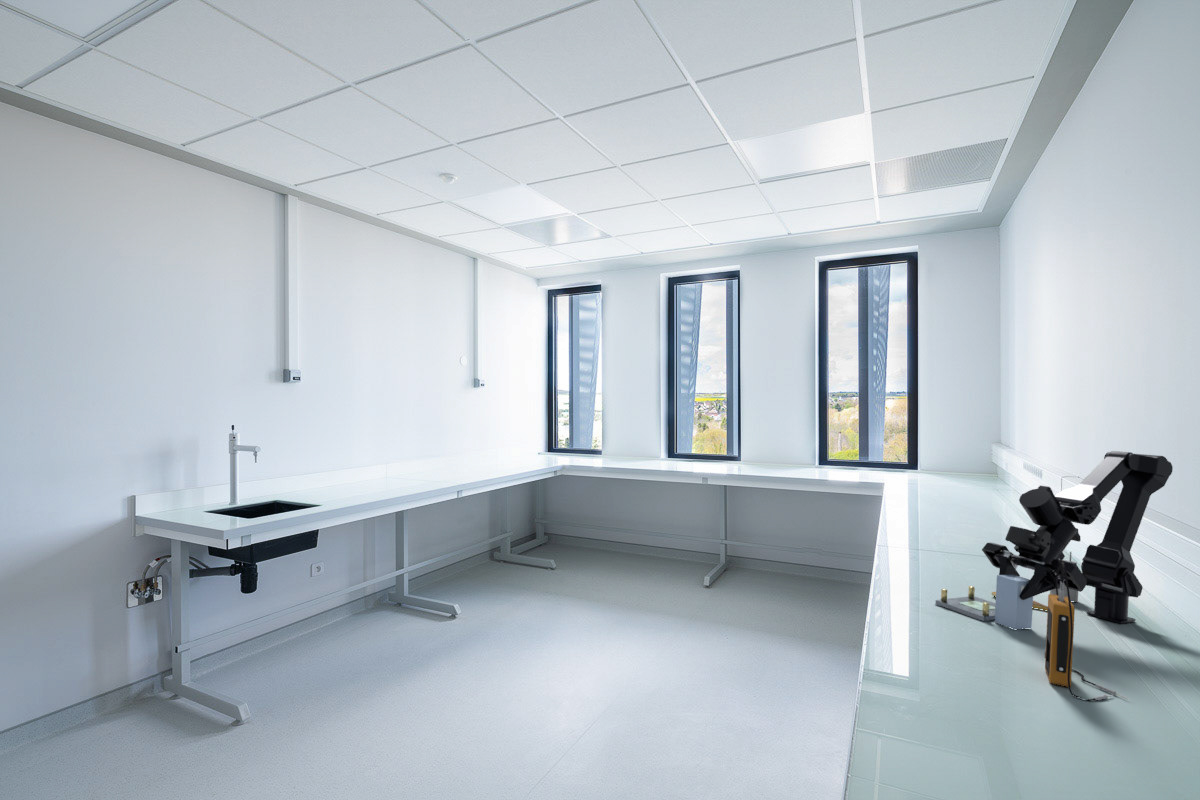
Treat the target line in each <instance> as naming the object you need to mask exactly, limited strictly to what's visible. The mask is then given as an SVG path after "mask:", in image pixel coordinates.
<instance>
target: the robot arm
mask: <svg viewBox="0 0 1200 800" xmlns="http://www.w3.org/2000/svg"><path fill="white" fill-rule="evenodd" d="M1103 457H1104V458H1103V459H1102V461H1101V462H1100V463H1099V464H1097V466H1096V467H1095V468H1093V470H1091V472H1090V473H1088V475H1086V476H1085V478H1083V479H1082V481H1081V482H1079V483H1078V484H1077V485H1076V486H1072V487H1069V488H1066V489H1063V490H1062V491H1060V492H1058V493H1057V494H1056V495H1055V494H1054V492H1053V489H1052V488H1051V487H1050V486H1047V485H1039V486H1038V487H1037V488H1035V489H1034V488H1033V489H1029V490H1028V491H1026V492H1024V493H1022V494H1021V495H1020V497H1019V499H1018V501H1019V504H1020V505H1021V506H1022V508H1023V509H1024V511H1025V512H1026V514H1027V515H1028V517H1029V519H1030V520H1031V521H1032V523H1033V524H1035V525H1037V526H1039V527H1037V530H1035V531H1034V530H1031V529H1027V528H1023V527H1018V526H1015V525H1009V528H1008V531H1007V534H1006V536H1005V541H1007V542H1010V543H1011V544H1013V545H1014V547H1013V549H1014V550H1015V552H1017V553H1018V555H1017V554H1014V553H1013V552H1011V551H1010V550H1009V548H1008V547H1007V545H1003V544H998V543H996V542H986V544H985V545H984V546H983V547H982V549H981V551H982V552H983V553H984V555H985V557H986V558H987V559H988V561H989V562H990V563H991V565H992V567H995V568H997V569H999V572H998V575H1016V576H1019V577H1021V575H1020V574H1019V572H1018V571H1017V568H1018V566H1019V567H1021V568H1025V569H1029V570H1031V571H1032V570H1033V571H1034V572H1033V575H1032V577H1031V578H1030V579H1029V580H1030V581H1029V582H1028V583H1027V585H1026V586H1025V587H1024V589H1023V590H1022V592H1021V594H1020V598H1021V599H1022V600H1025V599H1028V598H1030V597H1033V598H1034V597H1035V596H1038V595H1040V594H1043V593H1046V592H1050V590H1053V589H1056V575H1057V571H1058V567H1059V562H1058V560H1057V556H1061V558H1062V562H1064V565H1065V569H1066V574H1067V580H1068V586H1069V589H1073V590H1076V591H1078V593H1079V592H1083V590H1085V588H1086V587H1092V588H1094V589H1095V590H1094V606H1093V608H1094V609H1093V610H1088V611H1086V613H1085V614H1086V615H1090V616H1093V617H1095V618H1099V619H1102V620H1107V621H1109V622H1113V623H1116V624H1120V625H1123V624H1127V623H1133V622H1136V619H1135V618H1133V617H1131V616H1129V598H1130V597H1133V598H1139V597H1140V596H1141V595H1142V591H1143V585H1142V584H1141V582H1140V581H1139V579H1138V577H1137V576H1136V575H1135V568H1136V565H1135V561H1134V560H1133V557H1132V554H1131V550H1132V547H1133V545H1134V541H1135V539H1136V536H1137V533H1138V530H1139V528H1140V525H1141V523H1142V520H1143V517H1144V514H1145V511H1146V509H1147V506H1148V503H1149V501H1150V499H1151V496H1152V494H1153V495H1154V493H1156V492H1157V491H1159V490H1160V489H1162V488H1164V487H1165V485H1166V484H1167V482H1168V480H1169V478H1170V476H1171V475H1172V473H1173V469H1174V468H1173V464H1172V463H1171V461H1168V459H1167V458H1166V457H1165V456H1163V455H1156V454H1155V455H1154V454H1152V455H1151V454H1140V453H1133V452H1131V451H1130V452H1129V451H1119V450H1118V451H1117V450H1112V451H1108V452H1106V453H1105V454H1104V456H1103ZM1119 483H1121V484H1122V489H1121V490H1120V493H1119V496H1118V499H1117V502H1116V504H1115V507H1114V509H1113V512H1112V515H1111V517H1110V520H1109V523H1108V525H1107V528H1106V531H1105V534H1104V536H1103V539H1102V541H1101V542H1099V543H1098V544H1097V545H1095V544H1089V545H1088V547H1086V551H1085V555H1084V557H1083V558H1082V559H1081V560H1082V562H1081V564H1080V565H1081V566H1080V567H1081V569H1080V568H1079V566H1078V564H1077V565H1076V563H1072V562H1068V561H1064V560H1065V559H1064V558H1065V557H1066V556H1065V554H1064V550H1065V549H1066V548H1067V546H1068V545H1069V544H1070V542H1071V541H1075V542H1077V543H1078V542H1081V535H1080V533H1079V529H1078V528H1077V527H1076V526H1075V525H1074V523H1076V524H1080V525H1089V526H1090V525H1092V523H1094V521H1096V519H1097V517H1098V516H1099V514H1100V513H1101V511H1102V506H1101V503H1102V501H1103V499H1105V498H1106V496H1107V495H1108V494H1109V493H1110V492H1111V491H1113V489H1114V488H1115V487H1116V486H1117V485H1119ZM1058 558H1059V557H1058ZM1059 560H1060V558H1059ZM1061 565H1062V563H1061ZM1064 580H1065V574H1064ZM1064 580H1063V581H1064ZM1060 581H1061V567H1060V570H1059V575H1058V582H1057V586H1058V589H1060ZM1064 584H1065V586H1066V580H1065V581H1064ZM1066 587H1067V586H1066Z"/></svg>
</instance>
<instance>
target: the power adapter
mask: <svg viewBox="0 0 1200 800" xmlns="http://www.w3.org/2000/svg"><path fill="white" fill-rule="evenodd" d="M1063 560H1064V561H1068V562H1072V563H1076V565H1077V566H1078V562H1076V561H1074V560H1072V551H1069V559H1063ZM1064 581H1065V580H1064ZM1064 581H1063V583H1064ZM1063 587H1064V588H1063V589H1064V597H1068V593H1067V587H1066V586H1065V584H1064V586H1063ZM1069 593H1070V601H1074V602H1078V603H1079V591H1076V590H1073V589H1069ZM1049 594H1053V595H1057V594H1056V589H1053V590H1050V591H1049ZM1058 595H1059V589H1058Z"/></svg>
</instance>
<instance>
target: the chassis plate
mask: <svg viewBox="0 0 1200 800" xmlns="http://www.w3.org/2000/svg"><path fill="white" fill-rule="evenodd" d="M975 590H976V589H975V586H972V585H969V586H968V594H967V596H961V597H952V598H948V589H945V588H941V590H940V591H941V593H940V599H936V600H935V606H938V605H939V606H938V607H941V606H942V607H941V608H944V607H945V608H944V609H947V608H948V610H949V609H951V610H950V611H952V610H954V611H953V612H955V611H956V612H955V613H958V614H962V615H964V616H967V617H969V618H972V619H975V620H978V621H980V620H982V621H981V622H983V621H984V622H989V621H988V620H992V621H995V620H994V619H995V604H996V602H994V601H990V600H986V599H984V598H980V597H978V596H975Z"/></svg>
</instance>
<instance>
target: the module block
mask: <svg viewBox="0 0 1200 800" xmlns="http://www.w3.org/2000/svg"><path fill="white" fill-rule="evenodd" d="M1029 581H1030V579H1029V578H1025V577H1022V576H1016V575H999V574H997V575H996V586H995V592H996V598H995V603H996V604H995V620H994V623H995V622H996V623H995V624H997V623H999V624H998V625H1000V624H1001V625H1000V626H1002V625H1004V626H1003V627H1005V626H1007V627H1011V628H1013V629H1022V628H1023V629H1025V628H1031V629H1032V627H1033V625H1032V624H1033V609H1032V607H1033V601H1034V596H1033V597H1030V598H1028V599H1025V600H1022V599H1021V598H1020V594H1021V592H1022V590H1023V589H1024V587H1025V586H1026V585H1027V583H1028V582H1029ZM1007 627H1006V628H1007ZM1013 629H1012V630H1013Z"/></svg>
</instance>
